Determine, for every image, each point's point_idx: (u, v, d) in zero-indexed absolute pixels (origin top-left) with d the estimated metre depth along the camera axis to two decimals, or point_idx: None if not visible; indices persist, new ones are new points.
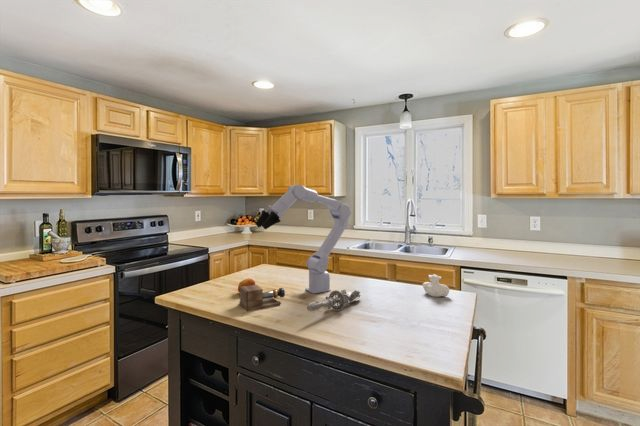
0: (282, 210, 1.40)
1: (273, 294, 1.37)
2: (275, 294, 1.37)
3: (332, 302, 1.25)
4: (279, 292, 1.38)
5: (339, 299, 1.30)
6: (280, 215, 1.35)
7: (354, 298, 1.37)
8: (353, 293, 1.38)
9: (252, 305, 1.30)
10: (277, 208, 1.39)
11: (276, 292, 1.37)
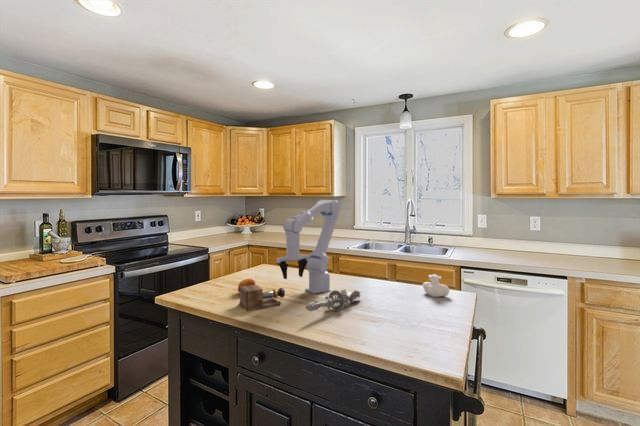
0: None
1: (273, 294, 1.37)
2: (275, 294, 1.37)
3: (331, 302, 1.26)
4: (279, 292, 1.38)
5: (339, 299, 1.30)
6: None
7: (354, 298, 1.37)
8: (353, 293, 1.38)
9: (252, 305, 1.30)
10: (299, 254, 1.42)
11: (276, 292, 1.37)
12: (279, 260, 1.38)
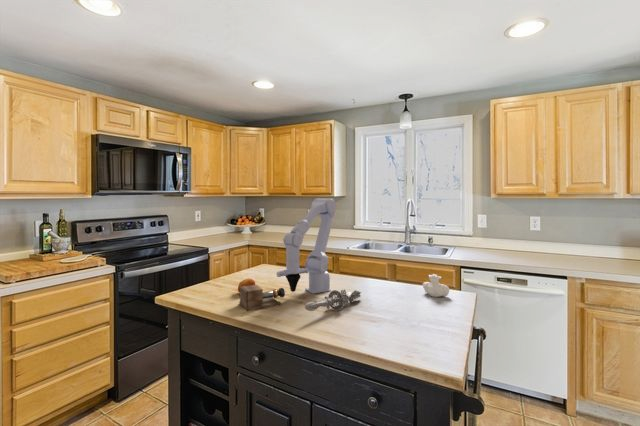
0: None
1: (273, 294, 1.37)
2: (275, 294, 1.37)
3: (331, 302, 1.26)
4: (279, 292, 1.38)
5: (338, 299, 1.30)
6: None
7: (354, 298, 1.37)
8: (353, 293, 1.38)
9: (252, 305, 1.30)
10: (299, 267, 1.42)
11: (276, 292, 1.37)
12: (279, 274, 1.38)
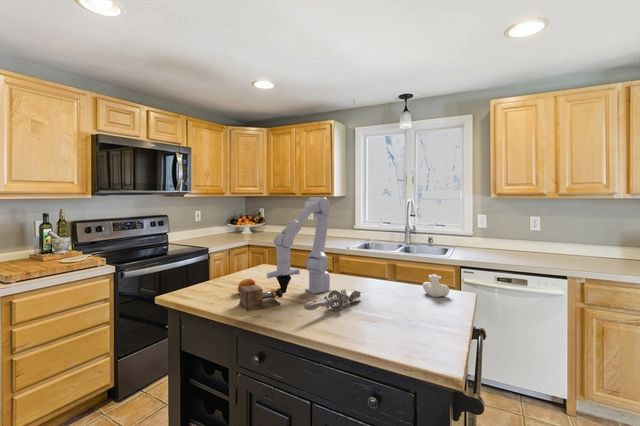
0: None
1: (271, 294, 1.36)
2: (273, 294, 1.37)
3: (330, 302, 1.26)
4: (277, 292, 1.38)
5: (338, 299, 1.30)
6: None
7: (354, 298, 1.37)
8: (353, 293, 1.38)
9: (252, 305, 1.30)
10: None
11: (274, 292, 1.37)
12: (269, 275, 1.36)
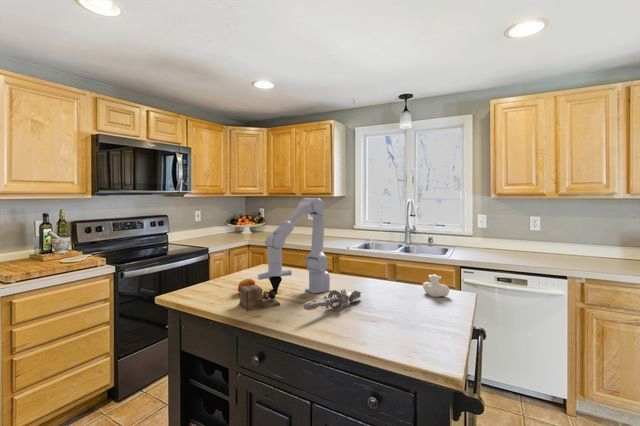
0: None
1: (263, 296, 1.35)
2: (266, 296, 1.35)
3: (330, 301, 1.26)
4: (270, 294, 1.36)
5: (338, 299, 1.30)
6: None
7: (354, 298, 1.37)
8: (353, 293, 1.38)
9: (252, 305, 1.30)
10: (281, 270, 1.38)
11: (267, 294, 1.35)
12: (260, 277, 1.34)
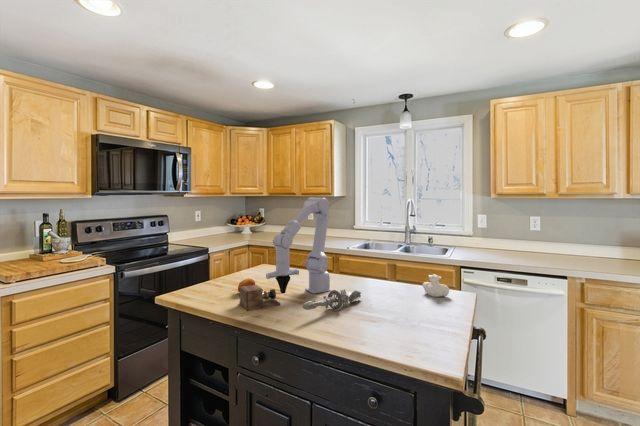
0: None
1: (264, 296, 1.35)
2: (266, 296, 1.35)
3: (330, 301, 1.26)
4: (270, 293, 1.36)
5: (337, 299, 1.30)
6: None
7: (354, 298, 1.37)
8: (353, 293, 1.38)
9: (252, 305, 1.30)
10: None
11: (267, 293, 1.35)
12: (268, 276, 1.36)
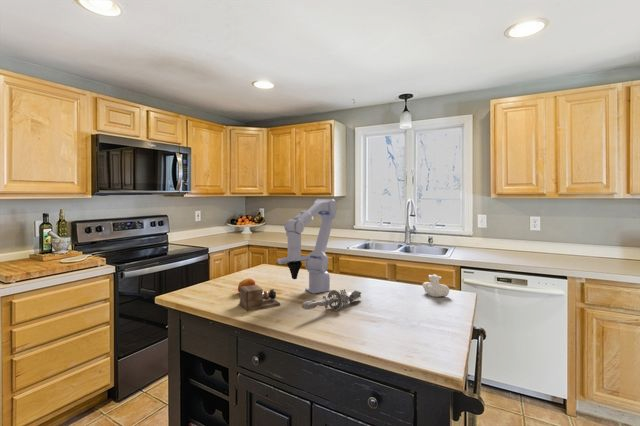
0: None
1: (264, 296, 1.35)
2: (266, 296, 1.35)
3: (329, 301, 1.26)
4: (270, 293, 1.36)
5: None
6: None
7: (354, 298, 1.37)
8: (353, 293, 1.37)
9: (252, 305, 1.30)
10: (300, 255, 1.40)
11: (267, 293, 1.35)
12: (280, 261, 1.36)
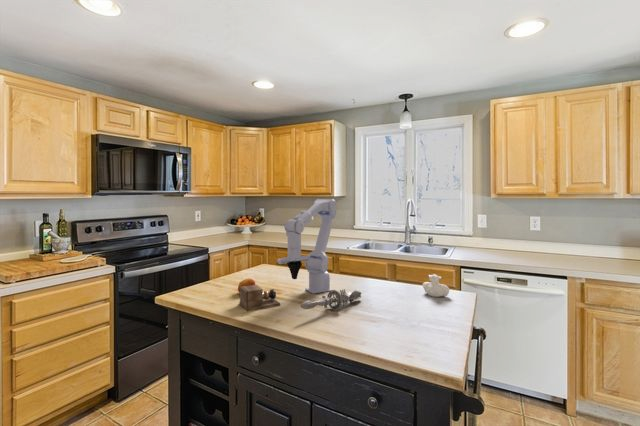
0: None
1: (264, 296, 1.35)
2: (266, 296, 1.35)
3: (329, 301, 1.26)
4: (270, 293, 1.36)
5: (337, 298, 1.30)
6: None
7: (354, 298, 1.37)
8: (353, 293, 1.37)
9: (252, 305, 1.30)
10: (300, 255, 1.40)
11: (267, 293, 1.35)
12: (280, 261, 1.36)
